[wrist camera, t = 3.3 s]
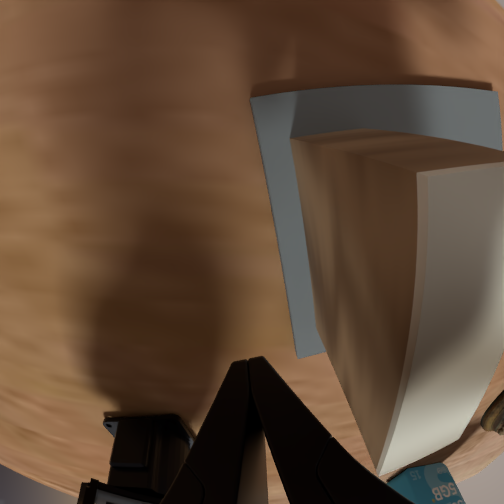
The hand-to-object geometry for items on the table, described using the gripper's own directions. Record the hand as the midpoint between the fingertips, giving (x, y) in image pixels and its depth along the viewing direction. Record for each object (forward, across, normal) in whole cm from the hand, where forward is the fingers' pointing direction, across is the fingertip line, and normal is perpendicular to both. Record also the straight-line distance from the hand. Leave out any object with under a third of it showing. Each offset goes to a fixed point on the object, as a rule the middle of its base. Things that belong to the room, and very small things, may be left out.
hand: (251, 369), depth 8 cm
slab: (+7, -5, 0) cm, 9 cm away
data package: (+8, -18, +42) cm, 46 cm away
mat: (+8, -10, 0) cm, 12 cm away
